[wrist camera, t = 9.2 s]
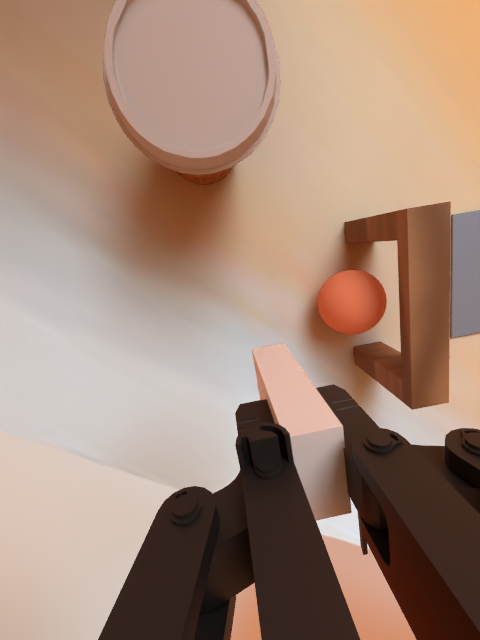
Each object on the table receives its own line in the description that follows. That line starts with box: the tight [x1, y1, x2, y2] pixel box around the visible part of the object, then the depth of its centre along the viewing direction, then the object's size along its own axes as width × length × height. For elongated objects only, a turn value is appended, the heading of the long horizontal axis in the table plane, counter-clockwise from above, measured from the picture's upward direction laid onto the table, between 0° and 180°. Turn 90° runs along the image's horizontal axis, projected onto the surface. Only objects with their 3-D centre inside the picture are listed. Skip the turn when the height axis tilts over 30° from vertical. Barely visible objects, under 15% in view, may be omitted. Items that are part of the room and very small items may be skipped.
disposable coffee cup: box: [103, 0, 281, 184], centre depth 21 cm, size 10×10×12 cm
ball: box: [318, 270, 387, 334], centre depth 28 cm, size 6×6×6 cm
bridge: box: [345, 202, 450, 409], centre depth 26 cm, size 3×15×10 cm, turn 9°
